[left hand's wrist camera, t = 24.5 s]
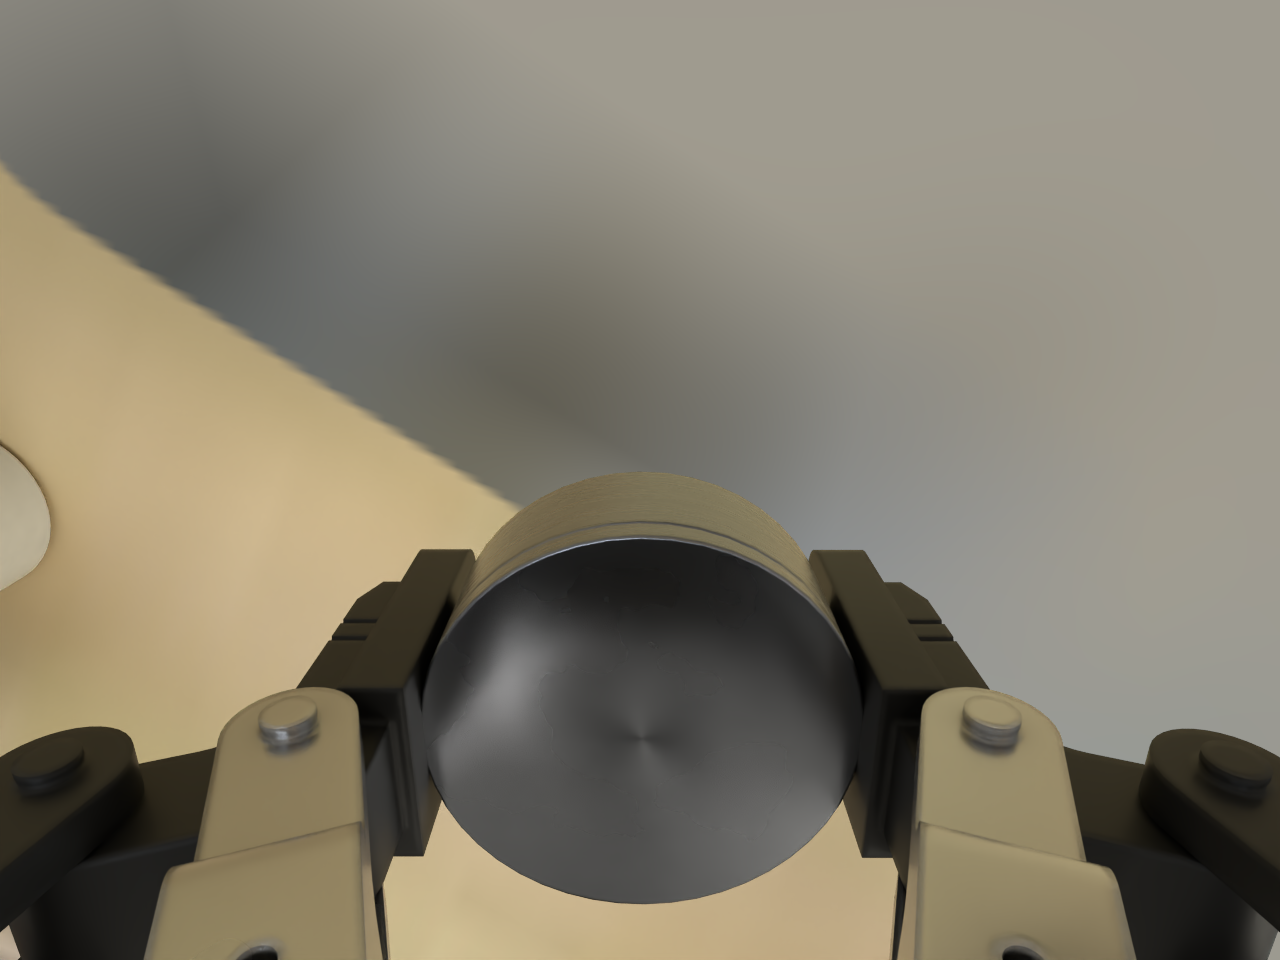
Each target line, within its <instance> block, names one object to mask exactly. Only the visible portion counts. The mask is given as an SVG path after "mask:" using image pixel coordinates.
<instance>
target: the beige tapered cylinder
mask: <svg viewBox="0 0 1280 960" xmlns="http://www.w3.org/2000/svg"><path fill="white" fill-rule="evenodd" d="M50 533H51V521H50V514H49V509H48V506H47V503H46V500H45V497H44V495H43V493H42V491H41V489H40V487H39V485H38V484H37V482H36V481H35V479H34V477H33V476H32V475H31V474H30V472H29V471H28V470H27V468H26V467H25V466H24V465H23V464H22V463H21V462H20V461H19V460H18V459H17V458H16V457H15V456H13V455H12V454H11V453H10V452H9V451H8V450H6V449H5V448H3V447H2V446H0V591H1V590H3V589H5V588H6V587H8V586H10V585H11V584H13V583H15V582H16V581H18V580H19V579H21V578H23V577H24V576H26V575H27V574H28V573H30V572H31V571H32V570H33V569H34V568H35V567H36V566H37V565H38V564H39V562H40V561H41V559H42V558H43V556H44V554H45V552H46V550H47V548H48V544H49V540H50Z"/></svg>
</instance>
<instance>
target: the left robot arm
mask: <svg viewBox="0 0 1280 960" xmlns="http://www.w3.org/2000/svg"><path fill="white" fill-rule="evenodd" d="M475 562H476V560H475V556H474V553H473V551H472V550H471V549H422V550H420V551H419V553H418V554H417V556H416V557H415V559H414V561H413V562H412V564H411V566H410V567H409V569H408V571H407V572H406V574H405V576H404V577H403V579H402V581H401V582H382V583H381V584H379V585H378V586H376V587H375V588H373V589H372V590H370V591H369V592H367V593H366V594H364V595H363V596H361V597H360V598H358V599H357V600H356V602H355V603H354V605H353V606H352V608H351V609H350V610H349V612H348V613H347V615H346V616H345V618H344V619H343V623H341V624H340V625H339V626H338V628H337V629H336V631H335V632H334V634H333V635H332V641H328V643H327V644H326V645H325V647H324V648H323V650H322V651H321V653H320V654H319V656H318V657H317V659H316V660H315V661H314V663H313V664H312V666H311V667H310V669H309V670H308V672H307V673H306V675H305V676H304V678H303V679H302V680H301V682H300V683H299V685H298V686H297V688H296V689H292V690H287V691H283V692H279V693H276V694H273V695H270V696H268V697H265V698H263V699H260V700H258V701H256V702H254V703H253V704H251V705H249V706H247V707H246V708H244V709H243V710H241V711H240V712H238V713H237V714H236V715H235V716H234V717H232V718H231V719H230V721H229V722H228V723H227V724H226V725H225V726H224V728H223V730H222V731H221V733H220V736H219V738H218V743H217V747H215V748H212V749H208V750H204V751H200V752H195V753H190V754H185V755H180V756H175V757H170V758H166V759H161V760H156V761H151V762H146V763H141V764H139V763H138V760H137V756H136V752H135V748H134V745H133V742H132V740H131V738H130V737H129V736H128V735H127V734H126V733H124V732H122V731H121V730H118V729H114V728H110V727H82V728H75V729H70V730H65V731H61V732H57V733H54V734H50V735H47V736H44V737H41V738H38V739H36V740H33V741H31V742H29V743H26V744H24V745H22V746H20V747H18V748H16V749H14V750H12V751H10V752H8V753H6V754H5V755H3V756H2V757H0V932H1V931H2V930H3V929H5V928H6V927H7V926H8V925H9V926H10V929H11V932H12V935H13V937H14V940H15V943H16V945H17V948H18V951H19V954H20V956H21V957H20V958H19V959H18V960H391V958H390V945H389V933H388V920H387V908H386V898H385V892H384V885H383V882H384V880H385V877H386V874H387V872H388V869H389V866H390V863H391V861H392V858H393V856H424V853H425V850H426V847H427V844H428V841H429V838H430V834H431V831H432V828H433V825H434V822H435V819H436V816H437V813H438V810H439V807H440V803H441V800H442V798H441V797H440V795H439V793H438V791H437V789H436V788H435V786H434V783H433V780H432V778H431V775H430V772H429V768H428V761H427V752H426V744H425V735H424V726H423V717H422V706H421V697H422V689H423V685H424V682H425V678H426V674H427V671H428V667H429V664H430V662H431V660H432V657H433V655H434V653H435V651H436V648H437V646H438V644H439V641H440V639H441V637H442V635H443V632H444V630H445V628H446V626H447V623H448V621H449V619H450V617H451V614H452V612H453V610H454V607H455V605H456V603H457V601H458V598H459V596H460V594H461V592H462V589H463V587H464V585H465V582H466V580H467V578H468V576H469V574H470V571H471V569H472V567H473V565H474V563H475ZM809 563H810V565H811V567H812V570H813V572H814V574H815V576H816V578H817V580H818V582H819V584H820V586H821V589H822V591H823V593H824V595H825V598H826V600H827V602H828V604H829V607H830V609H831V611H832V613H833V616H834V618H835V620H836V622H837V625H838V627H839V629H840V631H841V633H842V636H843V638H844V640H845V642H846V645H847V647H848V649H849V651H850V654H851V656H852V658H853V660H854V663H855V666H856V670H857V673H858V676H859V680H860V683H861V687H862V694H863V705H864V708H863V718H862V728H861V737H860V745H859V753H858V761H857V767H856V770H855V773H854V776H853V779H852V782H851V784H850V786H849V788H848V790H847V792H846V794H845V795H844V797H843V801H844V804H845V807H846V810H847V814H848V817H849V820H850V823H851V826H852V829H853V832H854V835H855V838H856V841H857V844H858V847H859V850H860V853H861V856H862V858H893V860H894V862H895V865H896V868H897V870H898V878H897V885H896V892H895V898H894V908H893V920H892V933H891V945H890V958H889V960H1267V959H1268V957H1269V954H1270V951H1271V949H1272V946H1273V943H1274V940H1275V938H1276V935H1277V932H1278V931H1279V932H1280V757H1278V756H1276V755H1275V754H1273V753H1271V752H1269V751H1267V750H1265V749H1263V748H1261V747H1259V746H1256V745H1254V744H1252V743H1249V742H1247V741H1244V740H1241V739H1238V738H1235V737H1232V736H1229V735H1225V734H1221V733H1217V732H1212V731H1207V730H1199V729H1176V730H1170V731H1166V732H1163V733H1161V734H1159V735H1157V736H1156V737H1155V738H1154V739H1153V740H1152V742H1151V745H1150V747H1149V751H1148V755H1147V759H1146V762H1145V765H1144V764H1139V763H1134V762H1129V761H1124V760H1119V759H1114V758H1109V757H1105V756H1100V755H1095V754H1090V753H1086V752H1081V751H1077V750H1074V749H1070V748H1067V747H1064V746H1063V742H1062V739H1061V736H1060V733H1059V731H1058V730H1057V728H1056V726H1055V725H1054V724H1053V723H1052V722H1051V721H1050V719H1049V718H1048V717H1046V716H1045V715H1044V714H1043V713H1042V712H1040V711H1039V710H1037V709H1036V708H1034V707H1033V706H1031V705H1029V704H1027V703H1025V702H1024V701H1022V700H1019V699H1017V698H1015V697H1012V696H1010V695H1007V694H1004V693H1001V692H997V691H993V690H990V689H989V688H988V686H987V685H986V683H985V682H984V680H983V679H982V678H981V676H980V675H979V673H978V672H977V670H976V669H975V667H974V666H973V665H972V663H971V662H970V660H969V659H968V657H967V656H966V655H965V653H964V652H963V650H962V649H961V647H960V646H959V644H958V643H957V642H956V641H953V636H952V634H951V633H950V632H949V630H948V629H947V627H946V626H945V624H942V621H941V619H940V617H939V616H938V614H937V613H936V611H935V610H934V609H933V607H932V606H931V604H930V603H929V601H928V600H927V599H925V598H924V597H922V596H921V595H919V594H918V593H916V592H915V591H913V590H912V589H910V588H909V587H907V586H906V585H904V584H903V583H901V582H883V580H882V578H881V577H880V575H879V574H878V572H877V570H876V569H875V567H874V565H873V564H872V562H871V560H870V559H869V557H868V556H867V554H866V553H865V551H863V550H813V551H812V552H811V554H810V557H809Z"/></svg>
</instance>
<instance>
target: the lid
mask: <svg viewBox="0 0 1280 960" xmlns="http://www.w3.org/2000/svg"><path fill="white" fill-rule="evenodd" d="M421 706H422V717H423V726H424V735H425V744H426V752H427V761H428V768H429V772H430V775H431V778H432V780H433V783H434V786H435V788H436V789H437V791H438V793H439V795H440V797H441V798H442V800H443V802H444V804H445V806H446V807H447V809H448V810H449V811H450V813H451V814H452V815H453V817H454V818H455V819H456V821H457V822H458V823H459V825H460V826H461V827H462V828H463V829H464V830H465V831H466V832H467V833H468V834H469V835H470V836H471V838H472V839H473V840H474V841H475V842H476V843H477V844H478V845H480V846H481V847H482V848H483V849H485V850H486V851H487V852H488V853H490V854H491V855H492V856H493V857H495V858H496V859H497V860H498V861H500V862H502V863H503V864H505V865H506V866H508V867H510V868H511V869H513V870H514V871H516V872H518V873H519V874H521V875H523V876H526V877H528V878H530V879H532V880H534V881H536V882H538V883H540V884H542V885H545V886H548V887H551V888H553V889H556V890H559V891H562V892H565V893H568V894H572V895H576V896H580V897H584V898H588V899H592V900H600V901H607V902H614V903H628V904H656V903H672V902H678V901H684V900H691V899H697V898H701V897H705V896H708V895H712V894H716V893H720V892H723V891H726V890H728V889H731V888H734V887H736V886H739V885H742V884H744V883H747V882H749V881H751V880H753V879H755V878H757V877H759V876H761V875H763V874H765V873H767V872H768V871H770V870H772V869H773V868H775V867H776V866H778V865H779V864H781V863H782V862H784V861H785V860H787V859H789V858H790V857H791V856H792V855H794V854H795V853H796V852H797V851H798V850H800V849H801V848H802V847H803V846H804V845H806V844H807V843H808V842H809V841H810V840H811V839H812V838H813V837H814V836H815V835H816V834H817V833H818V832H819V831H820V829H821V828H822V827H823V826H824V825H825V824H826V823H827V822H828V820H829V819H830V817H831V816H832V814H833V813H834V812H835V810H836V809H837V807H838V806H839V805H840V803H841V801H842V799H843V797H844V795H845V794H846V792H847V790H848V788H849V786H850V784H851V782H852V779H853V776H854V773H855V770H856V767H857V761H858V753H859V745H860V737H861V728H862V718H863V708H864V705H863V694H862V687H861V683H860V680H859V676H858V673H857V670H856V666H855V663H854V660H853V658H852V656H851V654H850V651H849V649H848V647H847V645H846V642H845V640H844V638H843V636H842V633H841V631H840V629H839V627H838V625H837V622H836V620H835V618H834V616H833V613H832V611H831V609H830V607H829V604H828V602H827V600H826V598H825V595H824V593H823V591H822V589H821V586H820V584H819V582H818V580H817V578H816V576H815V574H814V572H813V570H812V567H811V565H810V563H809V561H808V560H807V558H806V557H805V555H804V554H803V552H802V551H801V549H800V548H799V546H798V545H797V543H796V542H795V541H794V540H793V539H792V538H791V536H790V535H789V534H788V533H787V532H786V531H785V530H784V529H783V528H782V527H781V526H780V524H778V523H777V522H776V521H775V520H774V519H772V518H771V517H770V516H769V515H768V514H766V513H765V512H764V511H763V510H762V509H760V508H759V507H757V506H755V505H754V504H752V503H751V502H749V501H747V500H746V499H744V498H742V497H741V496H739V495H737V494H735V493H733V492H730V491H728V490H726V489H724V488H722V487H719V486H717V485H714V484H711V483H708V482H704V481H701V480H698V479H695V478H691V477H685V476H680V475H674V474H668V473H655V472H629V473H616V474H609V475H604V476H599V477H594V478H589V479H586V480H582V481H579V482H576V483H573V484H571V485H568V486H564V487H562V488H560V489H558V490H556V491H554V492H552V493H550V494H548V495H545V496H543V497H541V498H540V499H538V500H536V501H535V502H533V503H532V504H530V505H529V506H527V507H526V508H524V509H523V510H521V511H520V512H518V513H517V514H516V515H515V516H514V517H513V518H512V519H510V520H509V521H508V522H507V523H506V524H505V525H504V526H502V527H501V528H500V530H499V531H498V532H497V533H496V534H495V535H494V536H493V538H492V539H491V540H490V541H489V542H488V543H487V545H486V546H485V547H484V549H483V551H482V552H481V554H480V555H479V557H478V558H477V560H476V562H475V563H474V565H473V567H472V569H471V571H470V574H469V576H468V578H467V580H466V582H465V585H464V587H463V589H462V592H461V594H460V596H459V598H458V601H457V603H456V605H455V607H454V610H453V612H452V614H451V617H450V619H449V621H448V623H447V626H446V628H445V630H444V632H443V635H442V637H441V639H440V641H439V644H438V646H437V648H436V651H435V653H434V655H433V657H432V660H431V662H430V664H429V667H428V671H427V674H426V678H425V682H424V685H423V689H422V697H421Z"/></svg>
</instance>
